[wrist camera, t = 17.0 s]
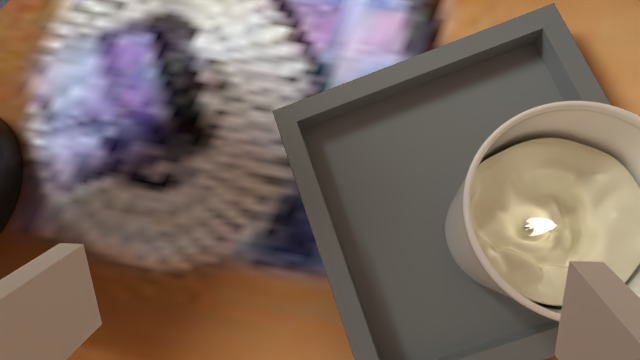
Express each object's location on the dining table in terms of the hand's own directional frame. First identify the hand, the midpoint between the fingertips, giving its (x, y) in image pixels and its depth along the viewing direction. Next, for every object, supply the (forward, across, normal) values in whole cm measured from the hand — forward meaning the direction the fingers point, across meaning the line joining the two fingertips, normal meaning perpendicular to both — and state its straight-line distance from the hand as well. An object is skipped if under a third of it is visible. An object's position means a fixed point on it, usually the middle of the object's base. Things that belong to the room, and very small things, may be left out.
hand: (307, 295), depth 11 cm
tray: (+21, +8, -5) cm, 23 cm away
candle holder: (+19, +10, -7) cm, 23 cm away
